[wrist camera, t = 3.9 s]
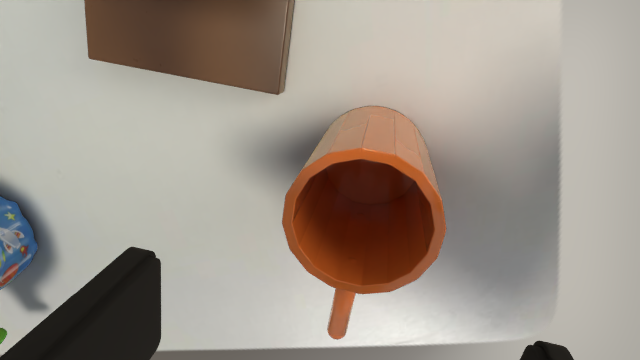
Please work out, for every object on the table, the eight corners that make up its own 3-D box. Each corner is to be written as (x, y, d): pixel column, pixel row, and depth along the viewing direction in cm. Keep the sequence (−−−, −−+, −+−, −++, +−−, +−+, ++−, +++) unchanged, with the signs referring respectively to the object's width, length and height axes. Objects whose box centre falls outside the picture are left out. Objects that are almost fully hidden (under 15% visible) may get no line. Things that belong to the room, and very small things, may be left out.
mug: (328, 96, 23) (293, 133, 15) (439, 117, 22) (466, 168, 14) (303, 249, 27) (265, 346, 19) (396, 271, 26) (397, 381, 18)
